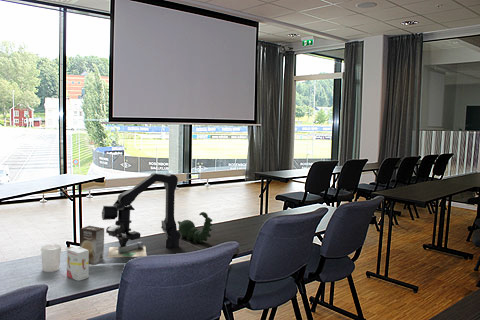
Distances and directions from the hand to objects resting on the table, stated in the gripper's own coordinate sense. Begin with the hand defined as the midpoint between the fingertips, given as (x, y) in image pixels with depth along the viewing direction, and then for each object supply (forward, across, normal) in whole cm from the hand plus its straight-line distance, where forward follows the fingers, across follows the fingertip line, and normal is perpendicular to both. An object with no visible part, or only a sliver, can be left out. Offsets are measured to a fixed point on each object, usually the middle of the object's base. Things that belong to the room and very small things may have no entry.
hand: (122, 249), depth 203 cm
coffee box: (+2, -1, -17) cm, 18 cm away
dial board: (+2, +2, +2) cm, 3 cm away
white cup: (+3, -6, -35) cm, 35 cm away
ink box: (+2, +10, -33) cm, 35 cm away
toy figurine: (+2, +12, +42) cm, 43 cm away
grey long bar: (+1, +2, +4) cm, 4 cm away
